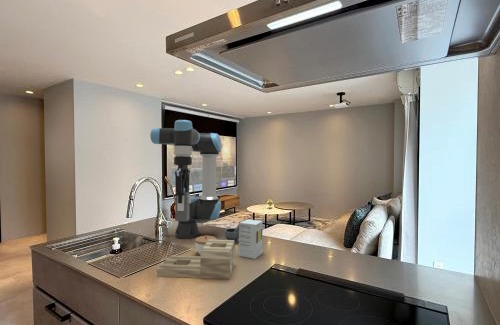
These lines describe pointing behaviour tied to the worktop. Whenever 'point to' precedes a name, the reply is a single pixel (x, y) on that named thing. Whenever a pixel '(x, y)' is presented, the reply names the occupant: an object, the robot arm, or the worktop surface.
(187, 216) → the plug
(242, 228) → the supplement box
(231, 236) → the mortar and pestle
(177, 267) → the dock
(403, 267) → the worktop surface
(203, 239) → the lidded jar
